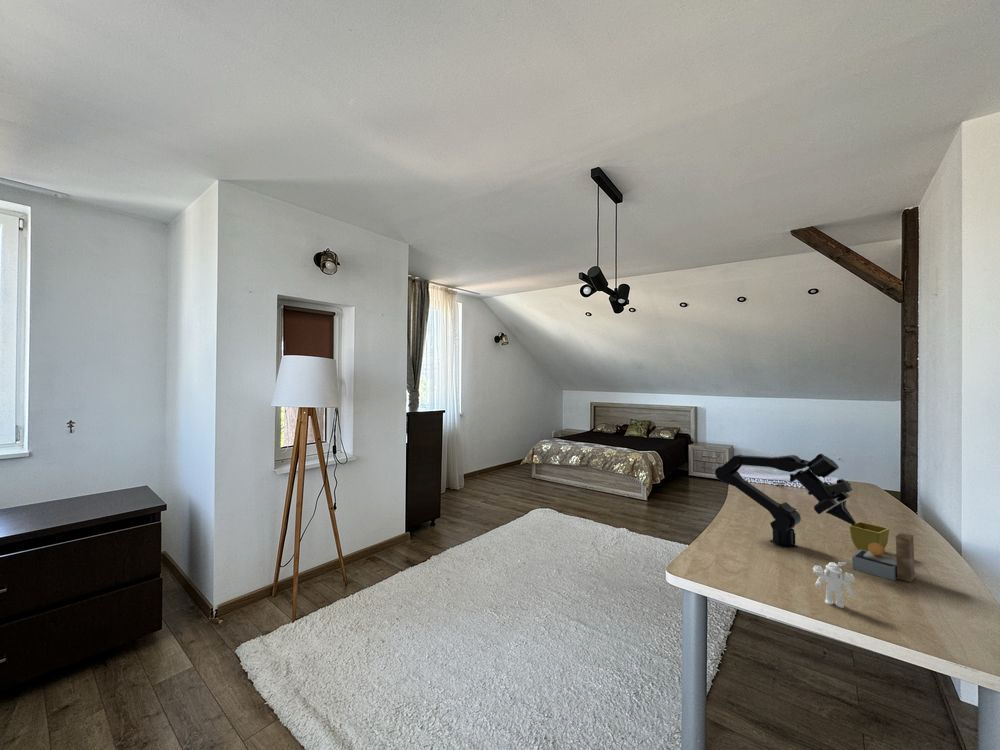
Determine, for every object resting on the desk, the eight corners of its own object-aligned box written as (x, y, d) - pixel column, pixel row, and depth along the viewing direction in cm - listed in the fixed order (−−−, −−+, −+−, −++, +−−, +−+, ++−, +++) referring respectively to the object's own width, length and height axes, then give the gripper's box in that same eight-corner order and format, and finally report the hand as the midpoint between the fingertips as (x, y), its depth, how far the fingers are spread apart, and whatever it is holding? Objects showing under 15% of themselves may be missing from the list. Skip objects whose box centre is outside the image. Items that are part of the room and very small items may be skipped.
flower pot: (880, 558, 139) (879, 532, 139) (849, 549, 146) (848, 525, 147) (890, 553, 143) (889, 528, 143) (860, 545, 150) (859, 521, 151)
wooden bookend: (863, 569, 130) (862, 529, 130) (869, 564, 133) (867, 525, 134) (910, 582, 121) (909, 539, 121) (914, 576, 125) (913, 535, 125)
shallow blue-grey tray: (852, 568, 131) (852, 556, 131) (860, 561, 136) (860, 549, 137) (894, 580, 122) (894, 567, 123) (901, 572, 128) (901, 559, 128)
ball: (876, 558, 128) (876, 545, 128) (864, 552, 132) (864, 540, 132) (888, 557, 128) (887, 545, 128) (876, 552, 132) (875, 540, 132)
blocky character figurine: (855, 606, 108) (854, 562, 108) (856, 612, 105) (854, 567, 105) (813, 595, 114) (812, 553, 114) (812, 600, 111) (811, 557, 111)
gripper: (824, 475, 134) (869, 516, 124) (841, 468, 145) (883, 506, 135) (797, 493, 140) (838, 534, 131) (815, 486, 151) (854, 523, 141)
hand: (854, 524), depth 134 cm, fingers closed
